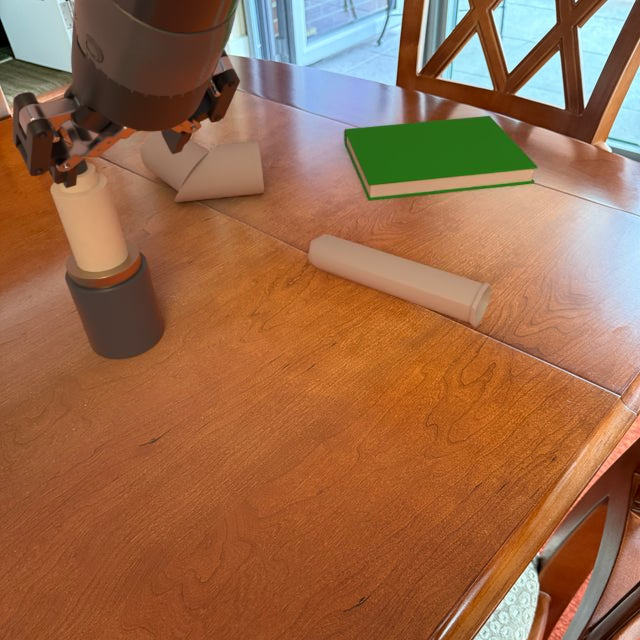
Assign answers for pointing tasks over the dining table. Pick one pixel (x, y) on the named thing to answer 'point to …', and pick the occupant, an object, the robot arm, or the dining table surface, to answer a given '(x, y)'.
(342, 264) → the tube
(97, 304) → the slate jar
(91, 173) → the cream bottle
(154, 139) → the l-shaped cylinder
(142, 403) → the dining table surface
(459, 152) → the book
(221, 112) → the robot arm
